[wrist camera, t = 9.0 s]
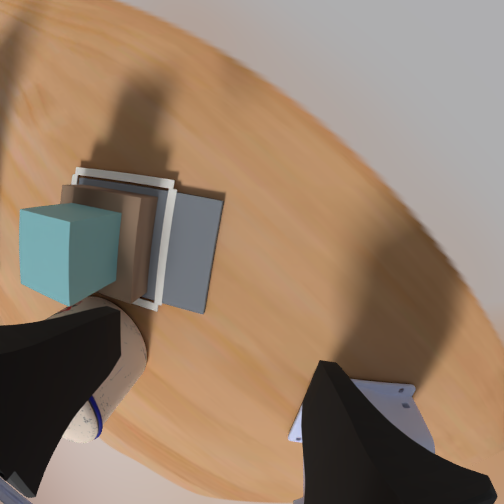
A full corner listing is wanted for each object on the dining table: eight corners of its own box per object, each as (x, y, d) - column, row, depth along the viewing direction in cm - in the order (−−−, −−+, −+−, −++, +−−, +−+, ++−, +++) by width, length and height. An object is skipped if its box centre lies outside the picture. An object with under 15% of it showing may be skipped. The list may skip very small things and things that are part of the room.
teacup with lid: (80, 271, 21) (-25, 322, 10) (166, 333, 21) (85, 433, 10) (60, 360, 24) (-8, 418, 13) (127, 412, 24) (73, 489, 13)
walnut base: (158, 196, 19) (141, 198, 16) (147, 292, 20) (130, 304, 18) (82, 184, 19) (62, 184, 17) (76, 269, 21) (57, 277, 18)
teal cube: (121, 213, 16) (70, 222, 12) (116, 280, 17) (69, 306, 13) (71, 202, 17) (20, 209, 12) (68, 264, 18) (21, 283, 13)
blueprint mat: (226, 189, 18) (224, 188, 18) (203, 321, 20) (201, 324, 20) (77, 167, 19) (73, 166, 19) (69, 278, 21) (66, 279, 21)
